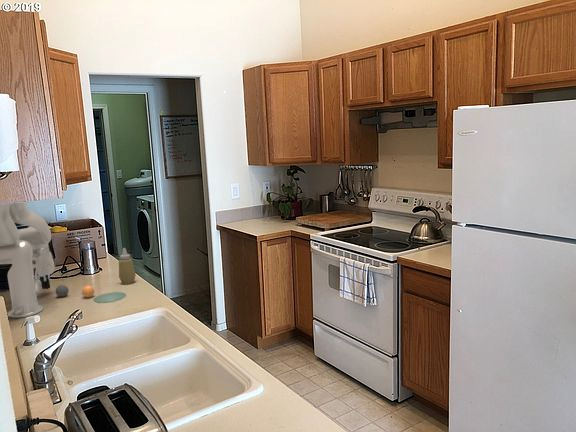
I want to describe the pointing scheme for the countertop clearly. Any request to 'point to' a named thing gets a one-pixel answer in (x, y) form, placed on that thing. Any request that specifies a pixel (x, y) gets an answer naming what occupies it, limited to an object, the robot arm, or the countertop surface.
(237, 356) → the countertop surface
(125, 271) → the squeeze bottle
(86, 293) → the object ball
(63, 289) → the dark gray ball
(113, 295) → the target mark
